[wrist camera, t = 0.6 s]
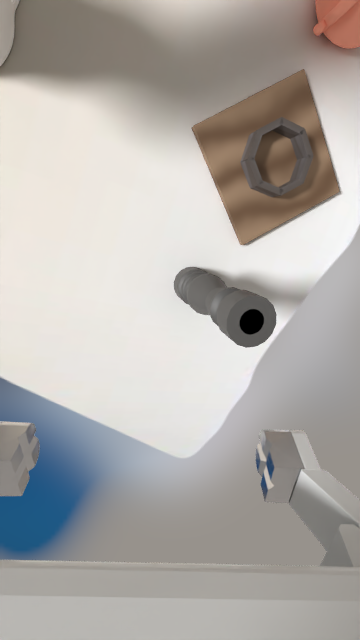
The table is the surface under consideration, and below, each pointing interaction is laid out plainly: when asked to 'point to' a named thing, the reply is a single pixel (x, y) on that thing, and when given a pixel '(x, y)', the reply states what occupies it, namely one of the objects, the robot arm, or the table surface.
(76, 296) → the table surface
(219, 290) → the candle holder
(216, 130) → the candle dish
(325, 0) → the sugar bowl
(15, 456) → the robot arm
